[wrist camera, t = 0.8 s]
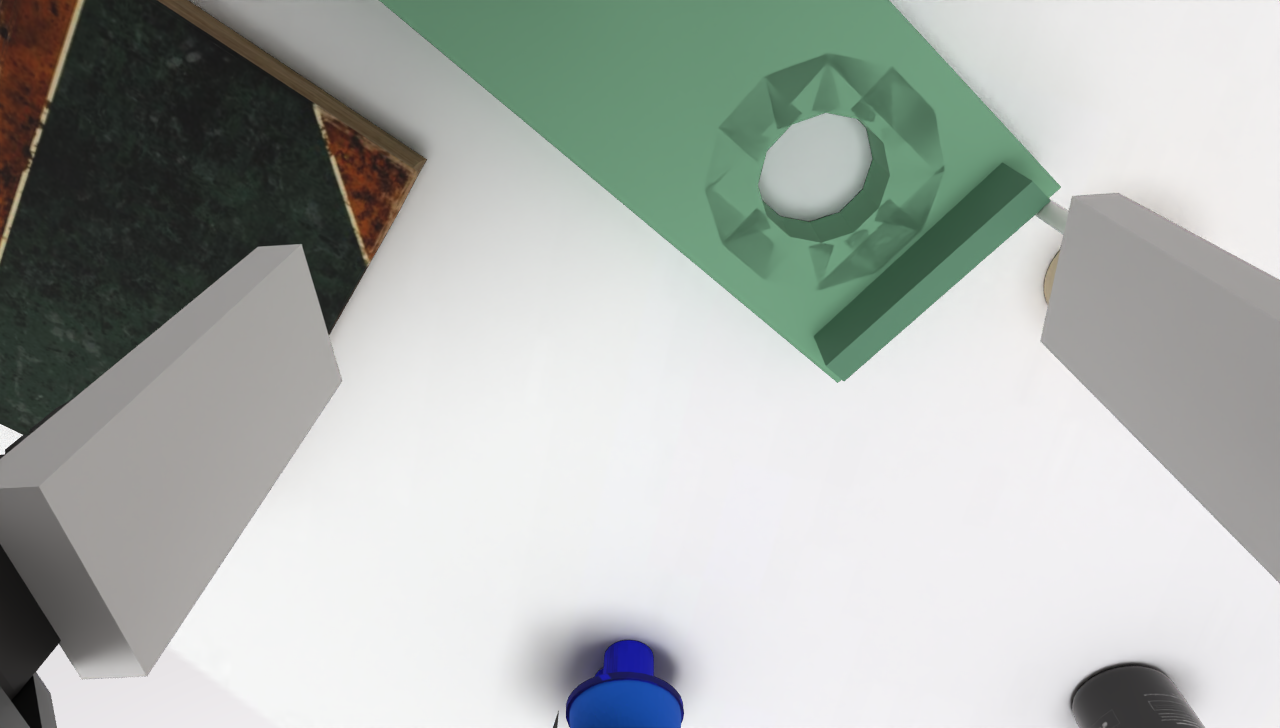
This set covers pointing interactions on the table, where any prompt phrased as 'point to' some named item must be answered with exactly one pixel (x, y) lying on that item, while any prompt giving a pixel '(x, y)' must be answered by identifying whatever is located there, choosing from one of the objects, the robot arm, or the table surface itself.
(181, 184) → the book
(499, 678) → the table surface
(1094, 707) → the supplement bottle
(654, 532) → the table surface
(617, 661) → the toy
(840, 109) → the green
